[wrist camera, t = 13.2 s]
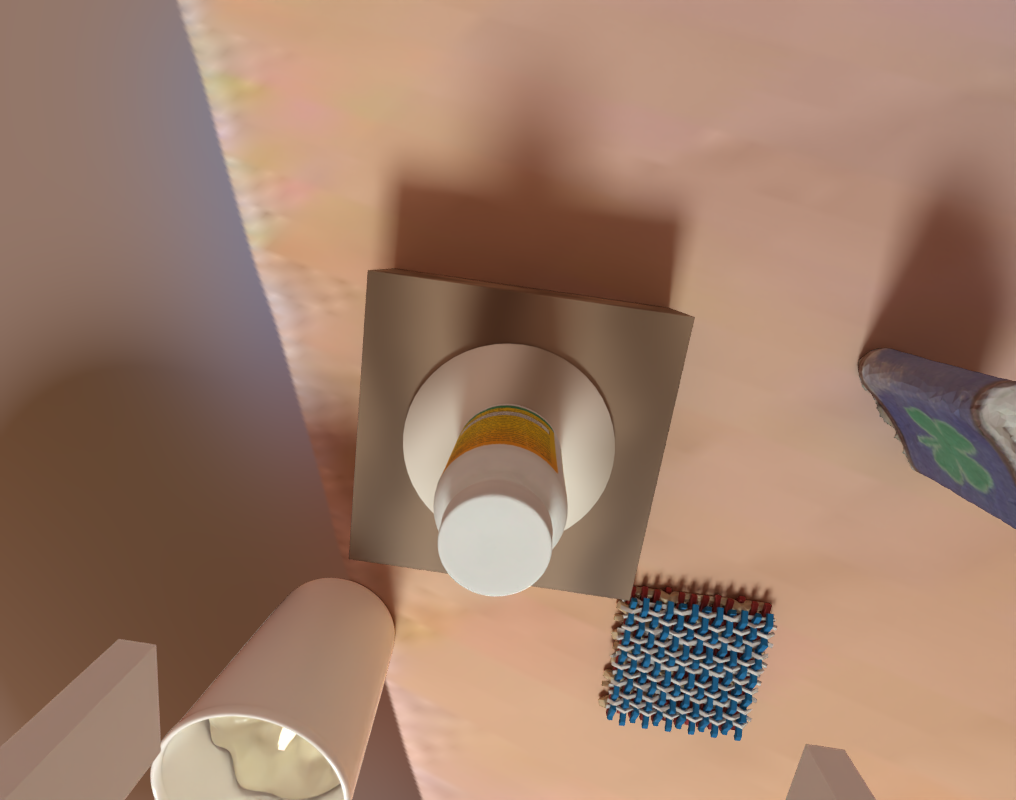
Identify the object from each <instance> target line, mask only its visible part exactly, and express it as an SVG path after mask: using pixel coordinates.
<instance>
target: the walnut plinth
mask: <svg viewBox="0 0 1016 800" xmlns="http://www.w3.org/2000/svg"><path fill="white" fill-rule="evenodd" d="M694 318H695V317H693V316H690V315H687V314H684V313H682V312H679V311H676V310H673V309H671V308H666V307H659V306H652V305H645V304H638V303H631V302H624V301H617V300H610V299H603V298H596V297H589V296H582V295H575V294H568V293H561V292H555V291H548V290H541V289H534V288H527V287H520V286H513V285H506V284H499V283H492V282H485V281H478V280H471V279H464V278H457V277H450V276H443V275H436V274H429V273H422V272H415V271H408V270H401V269H380V270H368V275H367V291H366V306H365V321H364V336H363V352H362V367H361V382H360V397H359V413H358V428H357V443H356V458H355V474H354V489H353V504H352V519H351V535H350V550H349V559H353V560H360V561H366V562H373V563H380V564H386V565H393V566H400V567H407V568H413V569H420V570H427V571H433V572H440V573H447V571H446V569H445V568H444V566H443V564H442V562H441V559H440V557H439V553H438V533H439V531H438V529H437V526H436V522H435V518H434V507H433V505H434V496H435V491H436V488H437V484H438V481H439V479H440V477H441V475H442V473H443V471H444V469H445V467H446V465H447V462H448V460H449V457H450V455H451V453H452V451H453V448H454V446H455V444H456V442H457V439H458V437H459V435H460V433H461V431H462V430H463V428H464V426H465V425H466V423H467V422H468V421H469V420H470V419H471V418H472V417H473V416H474V415H475V414H476V413H478V412H479V411H481V410H483V409H485V408H487V407H490V406H494V405H498V404H516V405H520V406H524V407H526V408H529V409H531V410H533V411H535V412H537V413H538V414H540V415H541V416H542V417H544V418H545V419H546V420H547V421H548V422H549V424H550V425H551V426H552V428H553V429H554V431H555V433H556V435H557V437H558V440H559V443H560V447H561V454H562V463H563V473H564V480H565V487H566V494H567V504H568V513H567V521H566V525H565V528H564V531H563V534H562V536H561V538H560V540H559V541H558V543H557V544H556V546H555V547H554V548H553V549H552V555H551V558H550V561H549V564H548V566H547V568H546V570H545V572H544V573H543V575H542V576H541V577H540V578H539V579H538V580H537V581H536V582H535V583H534V584H533V585H531V586H534V587H541V588H548V589H554V590H561V591H568V592H574V593H581V594H588V595H595V596H601V597H608V598H615V599H622V600H628V601H630V597H631V592H632V588H633V584H634V579H635V575H636V571H637V566H638V562H639V558H640V553H641V549H642V545H643V540H644V536H645V532H646V527H647V523H648V518H649V514H650V510H651V505H652V501H653V497H654V492H655V488H656V484H657V479H658V475H659V471H660V466H661V462H662V458H663V453H664V449H665V445H666V440H667V436H668V431H669V427H670V423H671V418H672V414H673V410H674V405H675V401H676V397H677V392H678V388H679V384H680V379H681V375H682V371H683V366H684V362H685V358H686V353H687V349H688V345H689V340H690V336H691V331H692V327H693V323H694ZM447 574H448V573H447Z"/></svg>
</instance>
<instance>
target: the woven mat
mask: <svg viewBox="0 0 1016 800" xmlns="http://www.w3.org/2000/svg"><path fill="white" fill-rule="evenodd" d="M635 594H637V595H641V597H640V600H639V599H638V598H636V597H635ZM647 597H652V598H653V599H652V603H650V599H648V598H647ZM622 601H623V602H622ZM622 601H618V603H617V606H616V608H617V609H619V610H620V611H622V612H623V613H624V615H622V614H615V616H614V620H616V621H620V622H623V624H622V628H620V627H619V628H617V629H615V630H613V631H612V632H611V634H612V637H613V639H617V640H620V642H619V641H615V642H614V644H613V649H615V650H618V651H616V653H614V654H613V655H611V656H610V657H611V661H610V662H612V664H611V665H612V666H613V670H611V669H606V670H605V671H604V674H603V676H604V677H605V678H606V679H607V680H609V681H602V686H606V687H610V690H609V695H606V696H603V697H600V698H599V699H598V701H599V705H600V706H602V707H604V708H606V709H607V710H606V715H607V719H608V720H612V718H613V716H614V714H615V712H616V709H617V713H620V719H619V725H622V726H624V725H625V720H626V713H627V712H628V716H629V717H630V719H629V721H630V723H635V720H636V718H637V717H638V716H639V712H640V716H639V717H640V720H642V728H645V729H647V728H648V722H649V716H650V715H651V720H652V724H653V726H658V723H659V722H660V720H661V719H662V720H664V721H666V723H665V731H668V732H670V731H671V728H672V719H674V720H673V722H674V725H675V727H676V728H677V729H681V726H682V724H683V723H684V722H685V724H686V725H689V727H688V734H691V735H694V732H695V722H696V726H697V727H698V730H699V732H704V729H705V727H706V726H707V727H708V729H711V732H710V734H711V737H714V738H716V737H717V735H718V727H719V730H720V731H721V733H722V734H723V735H727V732H728V731H729V730H730V729H731V730H735V735H734V739H735V740H737V741H740V740H741V737H742V729H743V728H744V727H745V726H746V725H747V723H748V722H747V720H748V721H749V722H751V720H752V719H751V718H750V717H748V716H747V714H748V713H749V712H750V711H751V710H752V709H749V710H746V708H747V707H748V706H749V705H750V704H751V703H752V701H753V702H755V703H756V702H757V699H755V698H753V697H752V695H753V694H755V693H757V692H758V688H755V689H753V688H754V687H755V685H756V684H757V685H759V686H761V681H759V680H757V677H760V674H761V673H763V672H764V670H763V668H762V667H764V668H766V667H767V664H766V663H764V662H762V660H764V659H766V658H768V654H765V652H764V651H765V649H766V648H767V647H770V648H772V647H773V644H771V643H769V642H768V639H769V638H771V637H773V636H774V635H775V634H774V633H773V632H771V633H769V632H770V631H771V629H774V630H776V629H777V626H775V625H773V622H775V621H776V619H775V618H774V614H770V610H771V607H772V605H771V604H770V603H763V602H757V601H747V600H746V599H745V596H739V597H738V598H737V599H736V600H734V599H732V598H723V597H722V596H721V595H717V594H716V596H708V595H699V594H692V593H684V592H676V591H673V592H672V589H671V588H670V587H666V588H665V590H664V591H662V590H660V589H650V588H649V587H647V586H642V587H635V586H633V588H632V592H631V597H630V601H628V600H622ZM625 601H626V603H625ZM684 601H686V602H689V605H688V608H687V604H684ZM662 603H663V604H662ZM675 603H677V604H676V606H674V604H675ZM709 604H710V605H713V608H712V607H710V606H709ZM720 606H724V607H725V609H724V608H720ZM757 611H762V613H761V614H760V613H757ZM748 612H749V614H748ZM636 613H637V615H635V614H636ZM647 614H648V616H647ZM673 615H674V617H673V620H671V618H672V616H673ZM646 616H647V617H646ZM660 616H661V618H659V617H660ZM684 616H685V621H684ZM708 623H709V624H708ZM632 624H635V625H633V626H631V625H632ZM744 628H745V629H744ZM670 629H671V630H670ZM681 630H682V631H681ZM680 631H681V632H680ZM669 633H670V634H669ZM705 633H706V635H704V634H705ZM768 633H769V634H768ZM642 643H643V645H642ZM628 644H629V645H628ZM654 644H655V646H653V645H654ZM665 647H667V648H665ZM713 649H714V652H713ZM737 652H738V654H737ZM651 654H653V655H651ZM662 657H663V658H662ZM675 657H676V658H675ZM687 659H688V660H687ZM686 660H687V661H686ZM624 669H626V670H624ZM636 669H637V670H638V671H636ZM740 669H741V670H740ZM647 672H649V673H647ZM672 674H673V675H672ZM695 674H696V677H695ZM671 675H672V676H671ZM633 679H636V681H633ZM646 680H647V681H646ZM657 682H659V684H657ZM644 683H645V684H644ZM669 685H670V687H667V686H669ZM619 689H620V690H622V692H620V691H619ZM752 689H753V690H752ZM630 692H632V693H633V694H630ZM619 695H620V696H621V697H618V696H619ZM738 695H739V697H738ZM676 701H678V702H677V704H676ZM699 704H700V707H699ZM618 705H619V706H618ZM629 706H630V707H629ZM743 723H744V724H743ZM718 725H719V726H718Z"/></svg>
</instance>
